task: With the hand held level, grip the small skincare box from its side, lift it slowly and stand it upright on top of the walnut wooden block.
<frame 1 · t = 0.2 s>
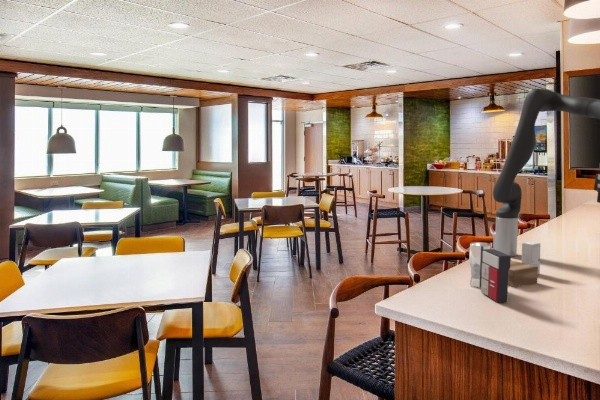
skincare box: (530, 274, 179), on the counter
walnut block: (511, 281, 169), on the counter
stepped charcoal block: (493, 298, 150), on the counter
beer glass: (478, 286, 163), on the counter
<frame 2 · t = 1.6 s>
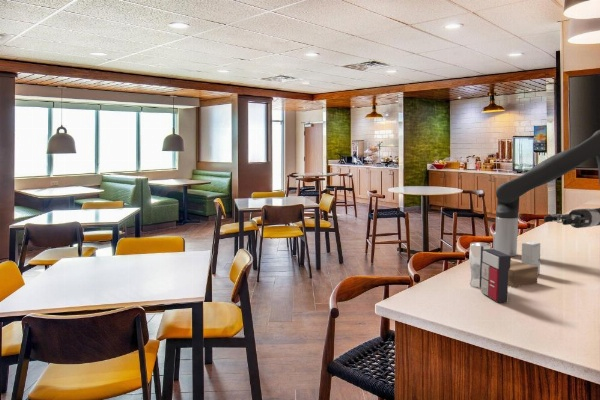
hand: (553, 220, 180), 20 cm above the counter, tool horizontal, fingers open, 8 cm apart
nothing on the counter moved.
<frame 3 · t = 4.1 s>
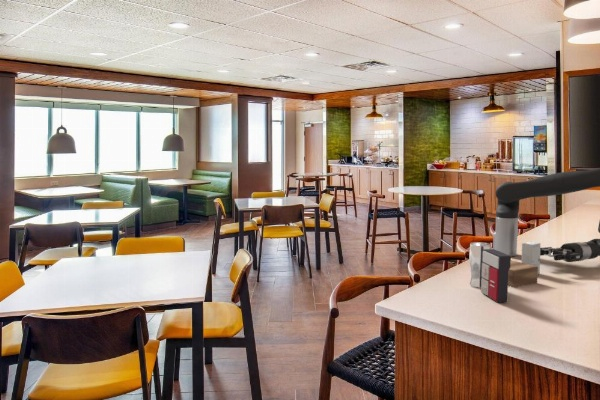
hand: (545, 255, 180), 7 cm above the counter, tool horizontal, fingers open, 8 cm apart
nothing on the counter moved.
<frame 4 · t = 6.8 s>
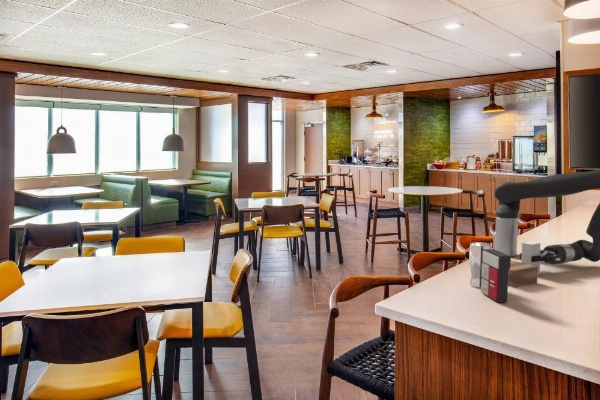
hand: (526, 257, 177), 7 cm above the counter, tool horizontal, fingers closed on skincare box, 5 cm apart
skincare box: (530, 274, 179), on the counter, touching gripper
everything else where it was.
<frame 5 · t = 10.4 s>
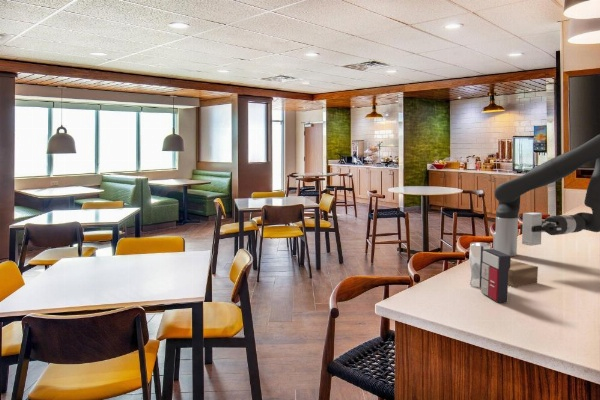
hand: (526, 228, 176), 18 cm above the counter, tool horizontal, fingers closed on skincare box, 4 cm apart
skincare box: (531, 244, 178), point 11 cm above the counter, touching gripper
everything else where it was.
when the fingers open (13 cm above the counter, at t = 14.4 s): skincare box stays where it is, resting on walnut block.
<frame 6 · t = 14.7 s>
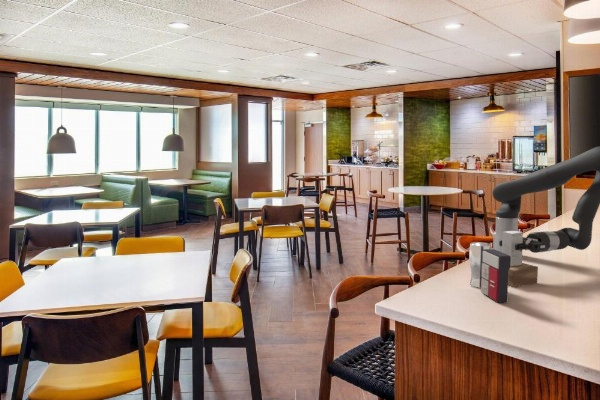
hand: (507, 245, 167), 13 cm above the counter, tool horizontal, fingers open, 7 cm apart
skincare box: (511, 265, 169), point 6 cm above the counter, touching walnut block
everything else where it was.
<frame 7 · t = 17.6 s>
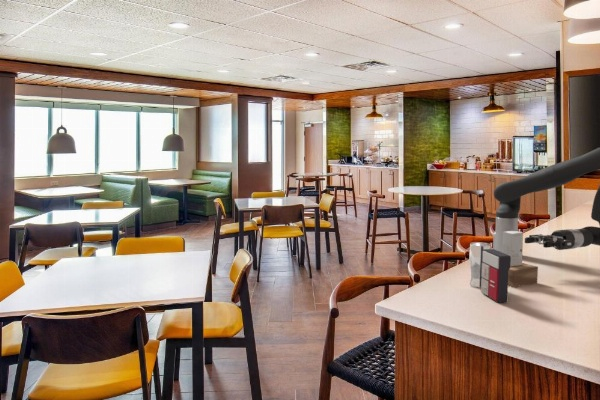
hand: (534, 242, 171), 13 cm above the counter, tool horizontal, fingers open, 8 cm apart
nothing on the counter moved.
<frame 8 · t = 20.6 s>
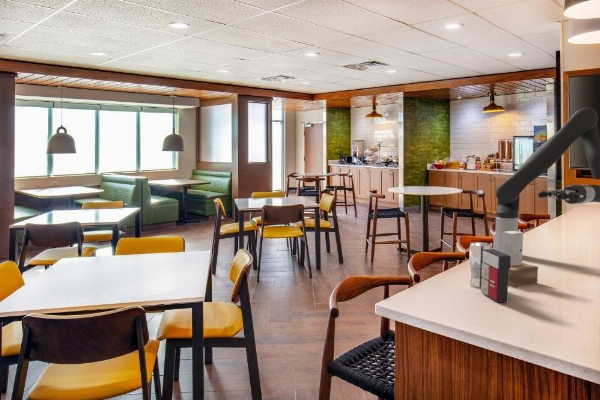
hand: (548, 195, 178), 30 cm above the counter, tool horizontal, fingers open, 8 cm apart
nothing on the counter moved.
at the end: skincare box inside the target area on the walnut block (0.5 cm from its centre), point 5.8 cm above the walnut block's base; skincare box tilted 0°; the gripper is holding nothing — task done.
